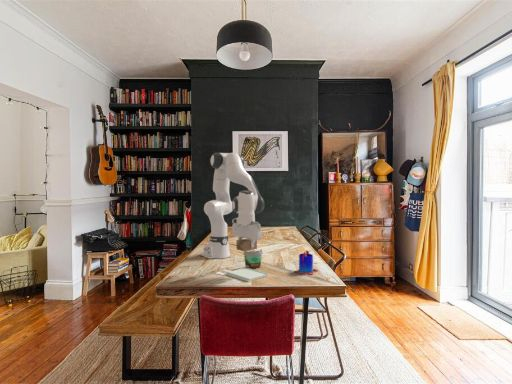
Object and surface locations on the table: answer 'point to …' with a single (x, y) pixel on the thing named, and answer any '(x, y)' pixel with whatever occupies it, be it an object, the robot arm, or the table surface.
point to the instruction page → (223, 272)
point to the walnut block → (245, 244)
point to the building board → (247, 274)
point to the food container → (253, 259)
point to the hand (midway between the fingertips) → (246, 246)
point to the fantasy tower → (306, 264)
